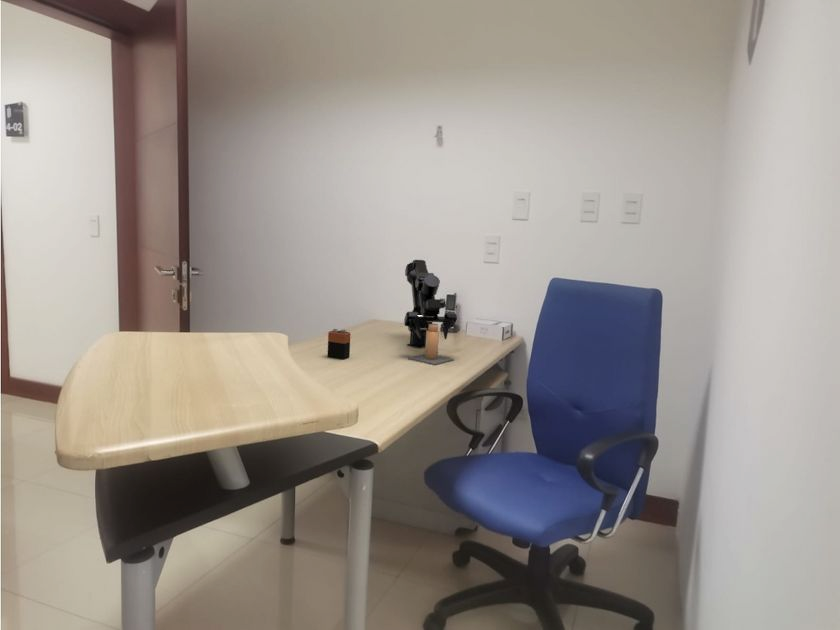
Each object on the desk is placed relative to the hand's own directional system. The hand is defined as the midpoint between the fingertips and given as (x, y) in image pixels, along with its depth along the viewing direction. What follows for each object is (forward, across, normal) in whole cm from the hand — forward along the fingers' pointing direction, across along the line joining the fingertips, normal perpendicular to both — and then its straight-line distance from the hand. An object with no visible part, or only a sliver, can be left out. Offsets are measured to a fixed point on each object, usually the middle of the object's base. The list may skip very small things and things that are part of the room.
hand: (433, 338), depth 205 cm
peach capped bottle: (+4, 0, +6) cm, 8 cm away
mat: (+5, 0, +7) cm, 8 cm away
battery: (+3, -33, +8) cm, 34 cm away
